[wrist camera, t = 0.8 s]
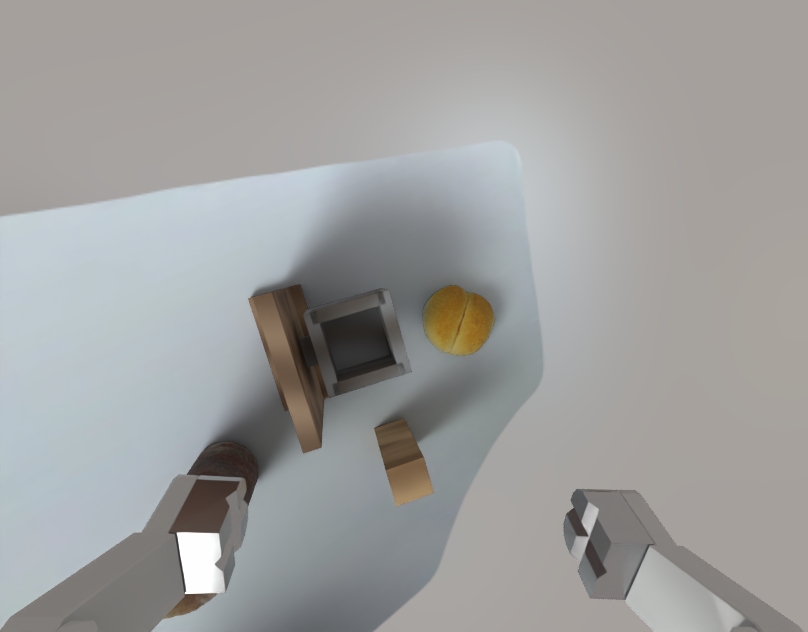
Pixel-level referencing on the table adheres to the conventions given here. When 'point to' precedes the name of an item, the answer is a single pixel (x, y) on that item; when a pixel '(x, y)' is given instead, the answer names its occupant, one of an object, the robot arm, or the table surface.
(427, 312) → the bread roll
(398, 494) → the wooden block
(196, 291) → the table surface
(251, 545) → the table surface
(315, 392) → the bracket
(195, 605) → the brown rough cylinder
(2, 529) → the table surface
